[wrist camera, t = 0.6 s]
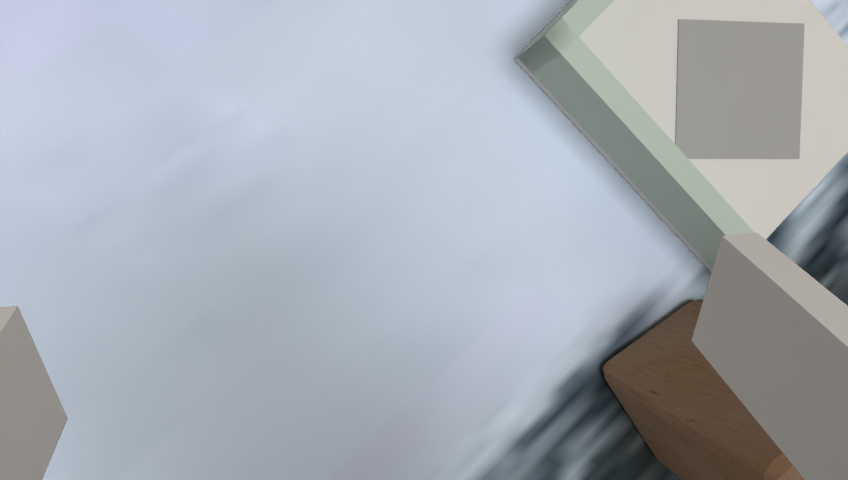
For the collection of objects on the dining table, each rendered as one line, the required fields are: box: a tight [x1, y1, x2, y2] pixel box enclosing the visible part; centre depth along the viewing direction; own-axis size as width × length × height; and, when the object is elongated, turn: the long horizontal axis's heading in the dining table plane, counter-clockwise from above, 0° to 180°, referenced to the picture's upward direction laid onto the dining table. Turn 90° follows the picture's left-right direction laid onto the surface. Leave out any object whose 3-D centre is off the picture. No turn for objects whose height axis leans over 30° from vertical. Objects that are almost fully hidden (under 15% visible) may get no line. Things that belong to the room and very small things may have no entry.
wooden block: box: [603, 299, 805, 480], centre depth 39 cm, size 10×10×20 cm
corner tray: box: [514, 0, 848, 273], centre depth 44 cm, size 24×20×7 cm
